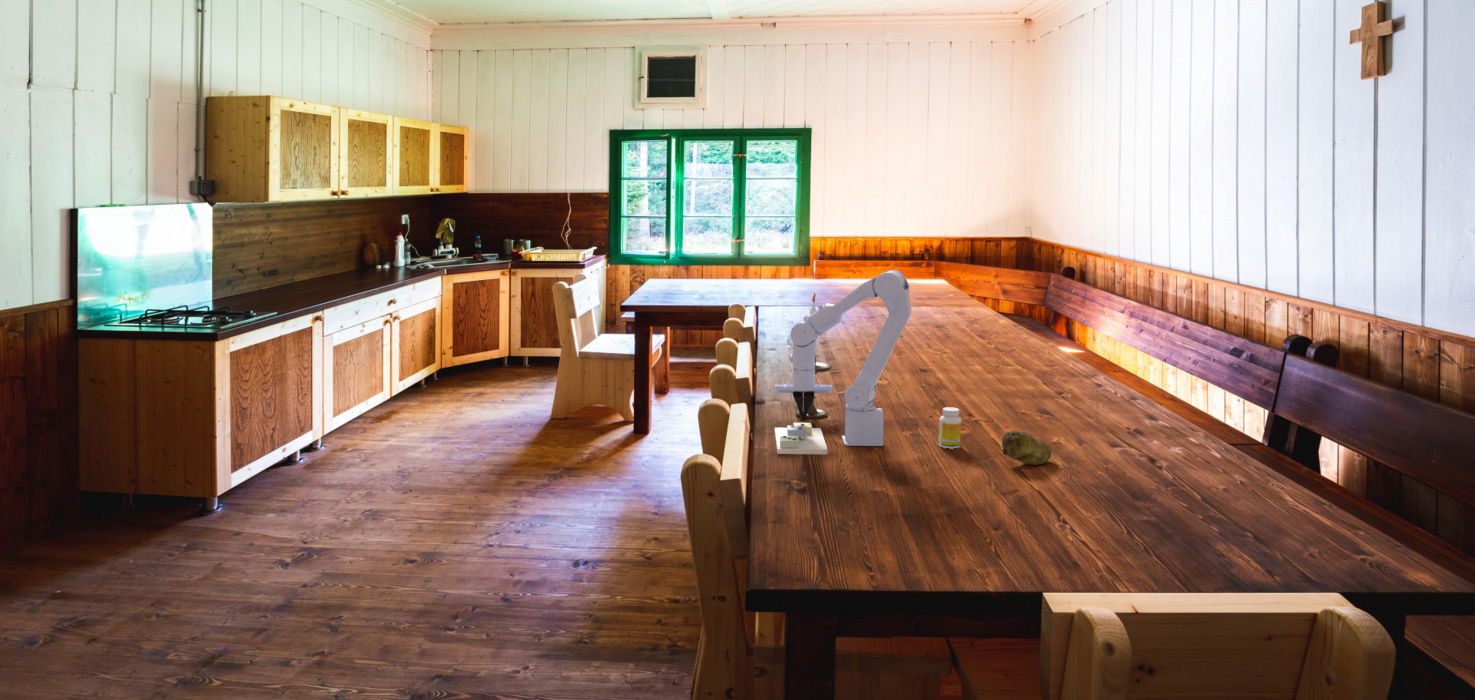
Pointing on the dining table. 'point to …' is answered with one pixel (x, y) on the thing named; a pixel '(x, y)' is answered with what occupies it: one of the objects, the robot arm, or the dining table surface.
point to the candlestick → (819, 367)
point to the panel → (803, 443)
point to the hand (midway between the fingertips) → (802, 420)
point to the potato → (1025, 448)
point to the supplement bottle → (949, 428)
